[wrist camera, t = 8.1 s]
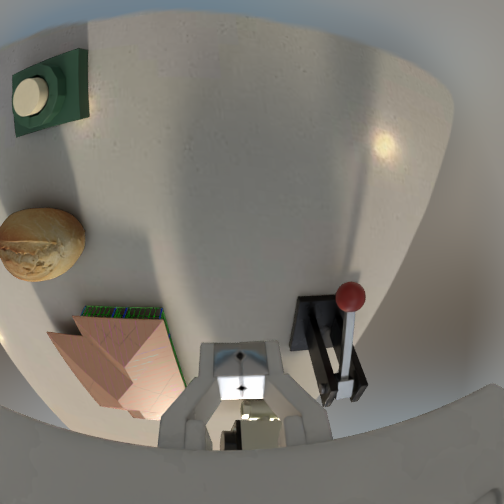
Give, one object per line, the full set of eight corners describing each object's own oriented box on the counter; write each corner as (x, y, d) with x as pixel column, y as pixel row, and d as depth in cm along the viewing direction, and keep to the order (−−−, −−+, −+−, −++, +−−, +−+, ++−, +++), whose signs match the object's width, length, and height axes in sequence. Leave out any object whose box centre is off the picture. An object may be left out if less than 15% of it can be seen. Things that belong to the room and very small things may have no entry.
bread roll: (3, 207, 27) (-29, 235, 21) (77, 187, 28) (42, 216, 21) (25, 263, 33) (0, 296, 26) (99, 255, 33) (75, 294, 26)
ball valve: (218, 408, 56) (219, 479, 41) (223, 391, 52) (225, 471, 37) (293, 410, 59) (305, 475, 44) (306, 393, 55) (321, 466, 40)
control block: (26, 133, 23) (6, 141, 20) (22, 74, 19) (2, 76, 15) (89, 116, 24) (71, 121, 20) (88, 49, 20) (70, 46, 16)
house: (107, 400, 54) (100, 428, 47) (43, 299, 37) (22, 334, 30) (198, 407, 56) (197, 439, 49) (167, 303, 38) (157, 348, 31)
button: (23, 117, 19) (14, 120, 18) (21, 83, 17) (12, 85, 16) (49, 108, 19) (40, 111, 18) (48, 72, 17) (38, 73, 16)
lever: (331, 279, 33) (343, 285, 29) (358, 278, 33) (371, 283, 29) (323, 389, 34) (332, 403, 30) (348, 385, 34) (358, 398, 30)
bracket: (297, 296, 39) (321, 379, 27) (355, 293, 40) (391, 367, 28) (289, 345, 45) (303, 419, 33) (339, 341, 45) (362, 408, 34)
